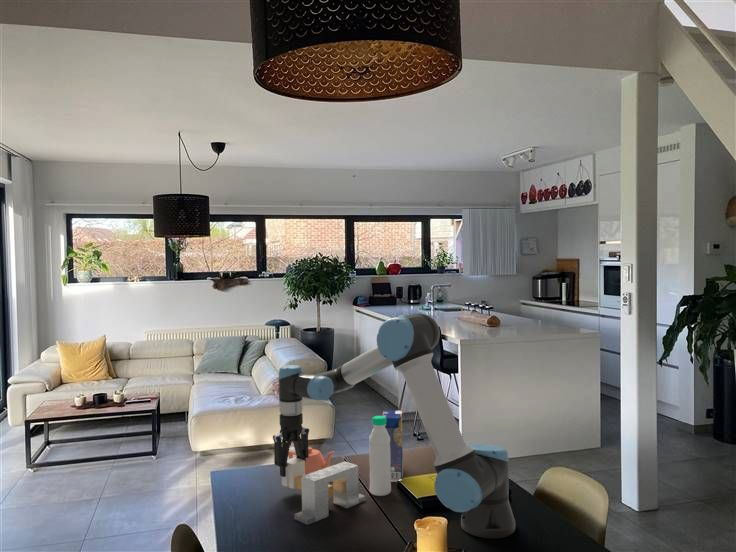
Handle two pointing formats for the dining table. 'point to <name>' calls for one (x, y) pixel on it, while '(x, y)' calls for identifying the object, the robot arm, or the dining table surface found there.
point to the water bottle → (379, 458)
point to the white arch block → (317, 491)
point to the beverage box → (395, 442)
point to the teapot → (314, 460)
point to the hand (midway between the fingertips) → (292, 483)
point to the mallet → (300, 474)
